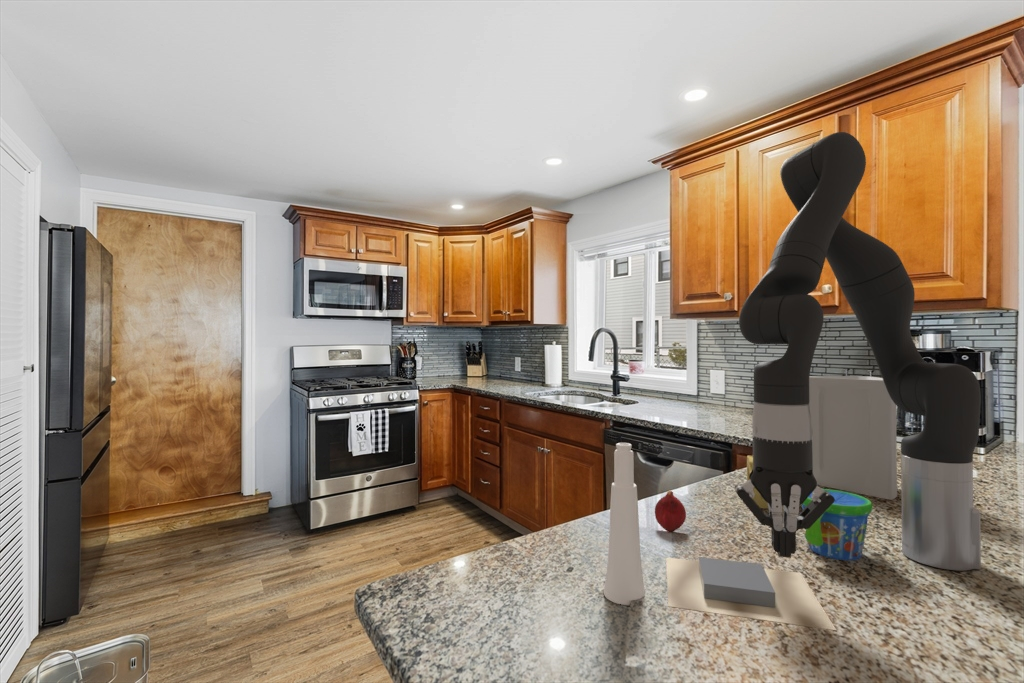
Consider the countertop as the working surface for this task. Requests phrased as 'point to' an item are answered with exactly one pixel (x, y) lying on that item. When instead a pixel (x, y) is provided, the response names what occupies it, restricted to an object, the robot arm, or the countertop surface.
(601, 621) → the countertop surface
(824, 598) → the countertop surface
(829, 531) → the snack cup
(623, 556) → the cosmetic bottle
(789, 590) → the board
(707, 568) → the block
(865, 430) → the white grooved panel
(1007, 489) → the countertop surface
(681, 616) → the countertop surface
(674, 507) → the onion
